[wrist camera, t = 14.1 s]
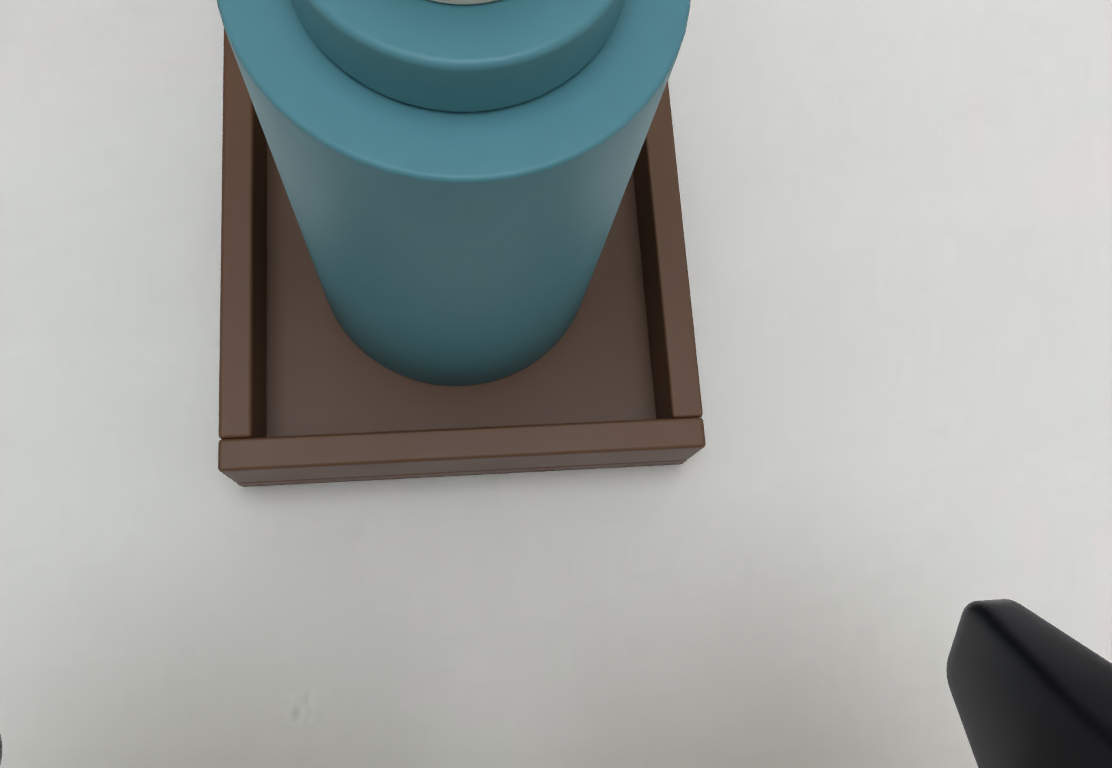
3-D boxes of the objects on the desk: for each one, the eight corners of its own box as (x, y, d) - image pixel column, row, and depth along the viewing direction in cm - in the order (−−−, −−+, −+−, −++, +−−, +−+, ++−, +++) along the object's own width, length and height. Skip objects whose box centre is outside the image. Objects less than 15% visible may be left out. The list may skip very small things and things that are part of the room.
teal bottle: (570, 406, 20) (759, 37, 8) (296, 364, 20) (28, -93, 7) (603, 159, 22) (808, -490, 9) (347, 115, 21) (196, -621, 9)
